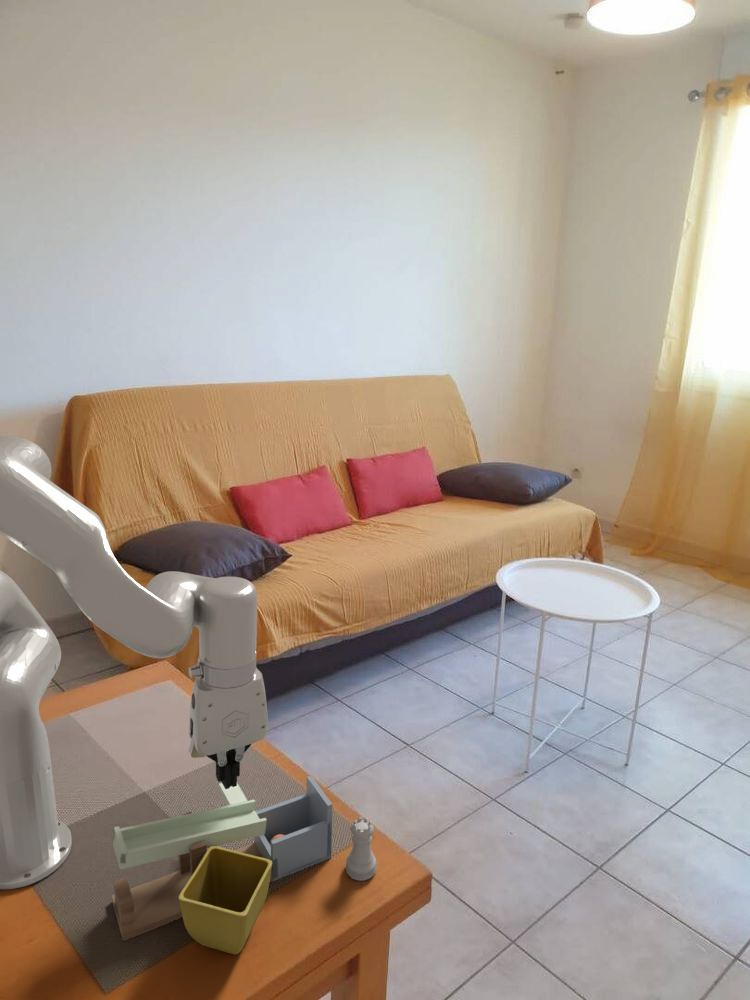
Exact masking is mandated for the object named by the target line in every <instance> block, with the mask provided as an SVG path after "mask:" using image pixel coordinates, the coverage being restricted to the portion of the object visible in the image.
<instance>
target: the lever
mask: <svg viewBox="0 0 750 1000" xmlns="http://www.w3.org/2000/svg"><path fill="white" fill-rule="evenodd" d="M217 788H218V790H219V793H220V795H221V796H222V798H223V800H224V801H225V804H226V805H223V806H218V807H213V808H208V809H205V810H199V811H195V812H192V813H190V814H186V813H184V814H185V815H183V814H180V815H175V816H172V817H167V818H163V819H158V820H153V821H148V822H144V823H140V824H136V825H135V824H134V825H130V826H126V827H122V828H120V826H114V827H113V835H112V838H113V839H112V847H113V850H114V854H115V858H116V860H117V861H116V862H117V864H118V867H119V870H120V871H121V870H125V869H128V868H129V869H130V868H133V867H137V866H141V865H145V864H149V863H153V862H158V861H161V860H165V859H169V858H173V857H177V856H178V857H179V855H182V854H186V853H190V848H189V846H192V845H194V844H197V843H200V842H203V841H205V842H206V845H207V849H209V847H211V846H217V847H219V846H222V845H226V844H230V843H233V842H238V841H239V842H240V841H243V840H246V839H250V838H254V837H255V836H259V835H263V834H265V829H266V822H267V820H266V818H262V819H259V817H258V815H257V813H256V812H255V811H256V800H255V799H251V800H248V799H247V797H246V795H245V794H244V792H243V790H242V789H241V787H240V785H239V784H238V782H237V786H235V787H230V788H229V789H225V787H224V786H223V784H222V782H221V783H220V782H219V783H218V787H217Z"/></svg>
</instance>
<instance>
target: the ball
mask: <svg viewBox="0 0 750 1000" xmlns="http://www.w3.org/2000/svg"><path fill="white" fill-rule="evenodd" d="M282 836H285V835H283V834H278V835H276V836H274V837H273V838H272V840H274V839H277V838H280V837H282ZM272 840H271V841H272ZM270 846H271V842H270Z"/></svg>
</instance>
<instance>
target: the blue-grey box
mask: <svg viewBox="0 0 750 1000" xmlns="http://www.w3.org/2000/svg"><path fill="white" fill-rule="evenodd" d="M255 812H256V813H257V815H258V817H259V819H262V818H266V820H267V822H266V829H265V834H263V835H259V836H255V837H253V838H254V843H255V844H256V846H257V847H258V849H259V851H260V853H261V855H262V856H263V858H265V859H269V860H271V861H272V868H271V873H272V875H273V881H272V882H275V881H277V880H280V879H283V878H285V877H288V876H290V875H292V874H294V873H297V872H300V871H302V870H304V868H305V869H307V868H309V866H310V867H312V866H315V865H317V864H319V863H322V862H325V861H327V860H329V859H332V842H333V841H332V836H333V832H332V831H333V803H332V802H331V800H330V799H329V797H328V796H327V795H326V794H325V792H324V790H323V789H322V788H321V786H320V785H319V784H318V783H317V781H316V780H315V778H314V777H313V776H312V775H308V776H306V793H304V794H302V795H301V794H300V795H299V796H296V797H292V798H290V799H287V800H283V801H281V802H279V803H276V804H272V805H270V806H268V807H265V808H262V809H258V810H255ZM278 834H283V835H285V836H282V837H280V838H277V839H274V840H272V838H273V837H274V836H276V835H278ZM271 840H272V841H271ZM270 842H271V846H270ZM314 864H315V865H314ZM299 870H300V871H299ZM296 871H297V872H296ZM289 874H290V875H289ZM287 875H288V876H287ZM284 876H285V877H284ZM282 877H283V878H282ZM279 878H280V879H279Z"/></svg>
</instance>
